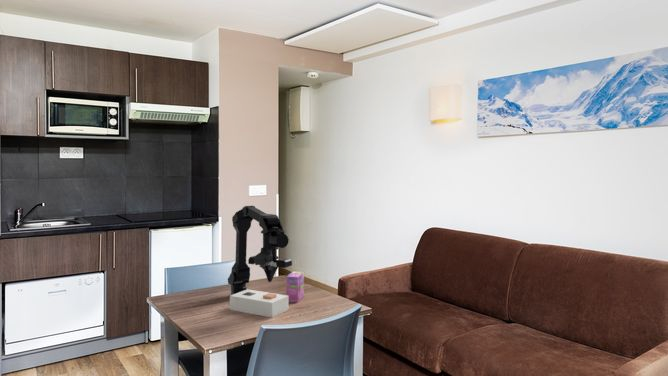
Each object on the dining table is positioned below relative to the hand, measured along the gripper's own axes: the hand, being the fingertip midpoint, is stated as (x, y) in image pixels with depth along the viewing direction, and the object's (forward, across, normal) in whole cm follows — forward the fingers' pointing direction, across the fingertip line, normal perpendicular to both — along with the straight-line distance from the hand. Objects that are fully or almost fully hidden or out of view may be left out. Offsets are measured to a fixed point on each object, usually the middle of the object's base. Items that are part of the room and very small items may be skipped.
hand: (269, 281), depth 192 cm
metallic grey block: (+12, -11, 0) cm, 16 cm away
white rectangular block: (+13, -6, 0) cm, 14 cm away
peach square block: (+11, 0, 0) cm, 11 cm away
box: (+13, -1, +21) cm, 25 cm away
